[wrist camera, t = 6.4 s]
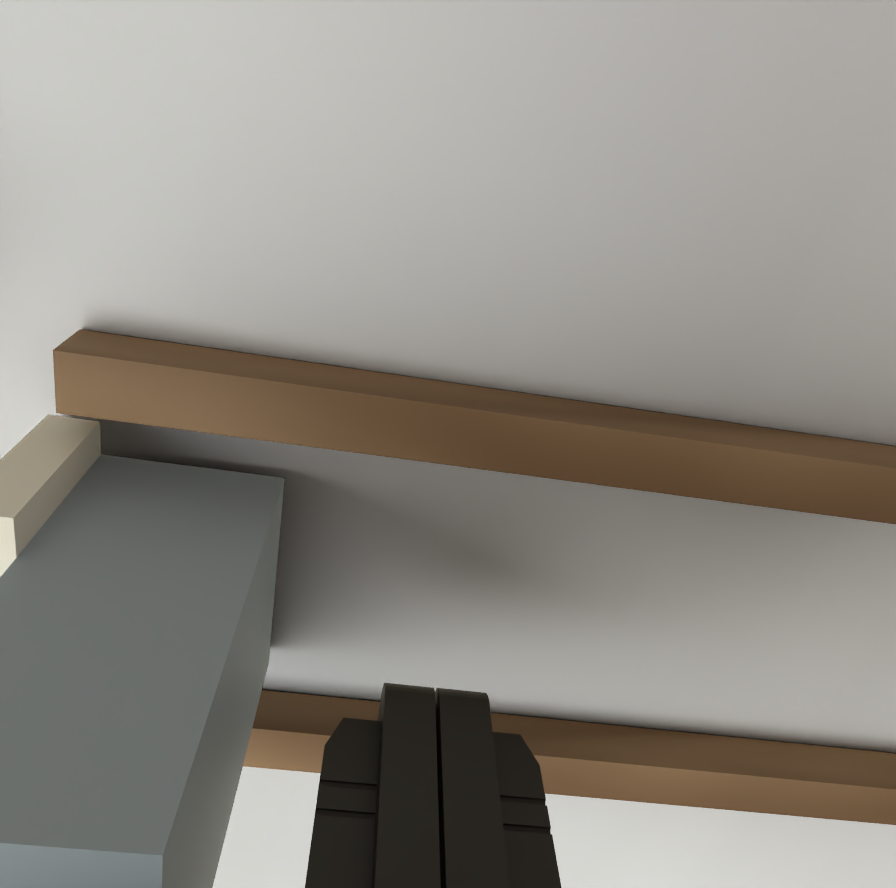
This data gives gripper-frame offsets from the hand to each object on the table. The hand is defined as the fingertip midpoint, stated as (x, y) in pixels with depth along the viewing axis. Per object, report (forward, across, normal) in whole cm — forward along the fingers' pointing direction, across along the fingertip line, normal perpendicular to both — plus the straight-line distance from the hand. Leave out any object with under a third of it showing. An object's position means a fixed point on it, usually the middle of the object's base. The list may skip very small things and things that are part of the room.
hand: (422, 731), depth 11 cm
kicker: (+4, +4, 0) cm, 5 cm away
